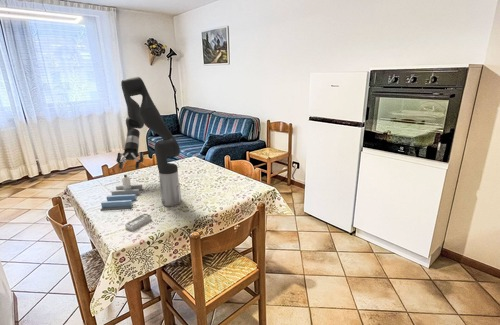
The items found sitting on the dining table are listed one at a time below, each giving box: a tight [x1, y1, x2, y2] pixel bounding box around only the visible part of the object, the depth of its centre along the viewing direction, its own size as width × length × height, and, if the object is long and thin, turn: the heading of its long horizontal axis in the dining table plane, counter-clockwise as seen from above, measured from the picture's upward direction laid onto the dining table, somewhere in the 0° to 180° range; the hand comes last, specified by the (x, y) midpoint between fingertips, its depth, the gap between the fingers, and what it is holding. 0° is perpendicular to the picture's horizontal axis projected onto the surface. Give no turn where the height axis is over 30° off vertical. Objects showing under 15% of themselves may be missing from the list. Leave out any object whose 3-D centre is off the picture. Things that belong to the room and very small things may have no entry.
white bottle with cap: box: [121, 174, 132, 190], centre depth 149 cm, size 4×4×10 cm
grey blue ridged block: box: [100, 183, 144, 212], centre depth 144 cm, size 14×26×4 cm, turn 7°
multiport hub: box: [124, 213, 152, 231], centre depth 119 cm, size 4×11×2 cm, turn 155°
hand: (128, 168), depth 154 cm, fingers open, 8 cm apart
